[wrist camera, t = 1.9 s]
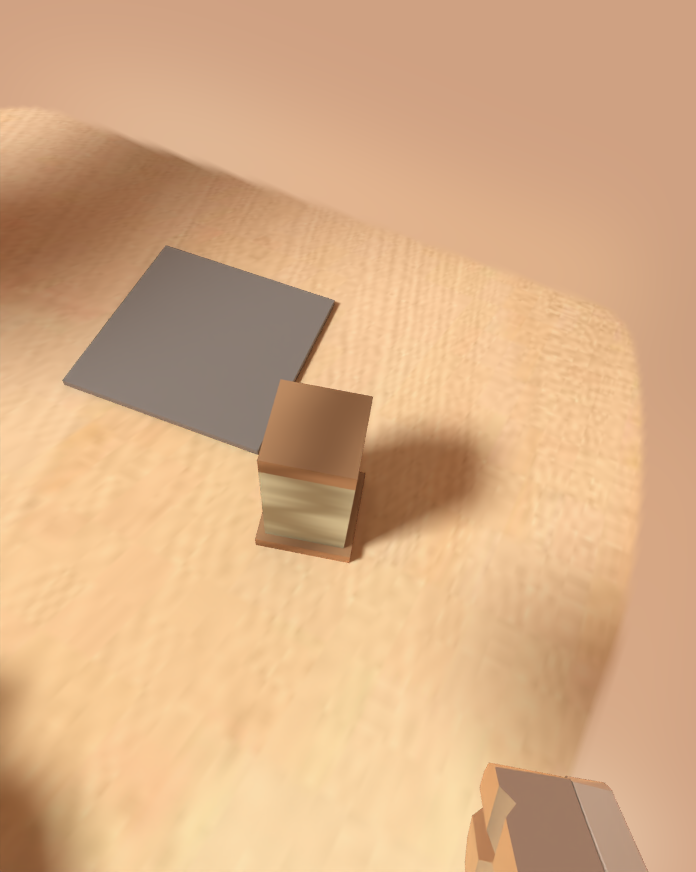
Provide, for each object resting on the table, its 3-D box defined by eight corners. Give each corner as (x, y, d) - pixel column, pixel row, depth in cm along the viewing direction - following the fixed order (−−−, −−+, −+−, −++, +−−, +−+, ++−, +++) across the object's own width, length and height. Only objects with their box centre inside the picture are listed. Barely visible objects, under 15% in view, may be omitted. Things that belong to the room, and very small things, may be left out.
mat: (64, 384, 35) (62, 380, 35) (167, 249, 41) (166, 245, 41) (257, 454, 34) (257, 450, 33) (334, 304, 40) (334, 300, 39)
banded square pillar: (256, 544, 31) (244, 467, 24) (277, 463, 33) (273, 370, 26) (348, 562, 31) (365, 490, 24) (363, 479, 33) (383, 390, 26)
